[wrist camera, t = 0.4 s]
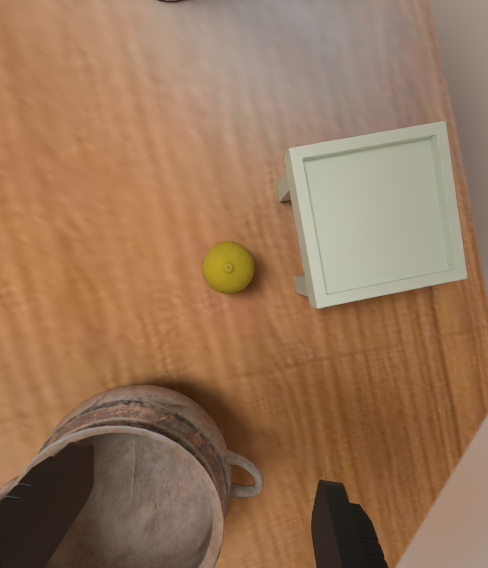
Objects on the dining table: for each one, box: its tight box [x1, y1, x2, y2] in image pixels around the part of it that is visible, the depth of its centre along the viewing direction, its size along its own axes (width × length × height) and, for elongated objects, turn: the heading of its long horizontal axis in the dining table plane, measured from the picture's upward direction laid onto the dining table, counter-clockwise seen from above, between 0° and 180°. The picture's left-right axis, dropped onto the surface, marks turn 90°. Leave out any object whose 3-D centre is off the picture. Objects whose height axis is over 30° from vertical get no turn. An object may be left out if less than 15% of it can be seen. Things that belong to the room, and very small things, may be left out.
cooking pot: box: [0, 385, 264, 568], centre depth 29 cm, size 25×19×12 cm
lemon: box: [202, 241, 254, 294], centre depth 31 cm, size 6×6×8 cm
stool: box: [277, 121, 467, 309], centre depth 30 cm, size 14×14×10 cm
